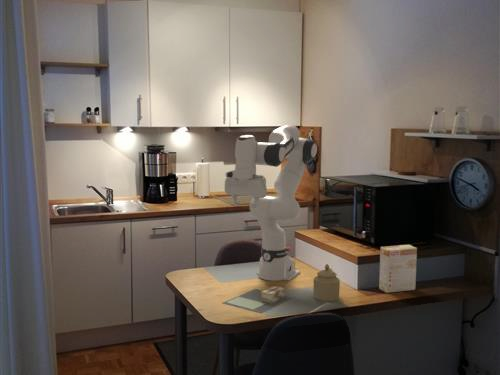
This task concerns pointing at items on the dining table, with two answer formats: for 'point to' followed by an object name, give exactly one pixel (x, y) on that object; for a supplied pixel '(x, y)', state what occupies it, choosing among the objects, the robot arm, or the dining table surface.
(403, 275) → the coffeecake box
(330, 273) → the sugar bowl
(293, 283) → the dining table surface
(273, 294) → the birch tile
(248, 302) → the rubber mat
